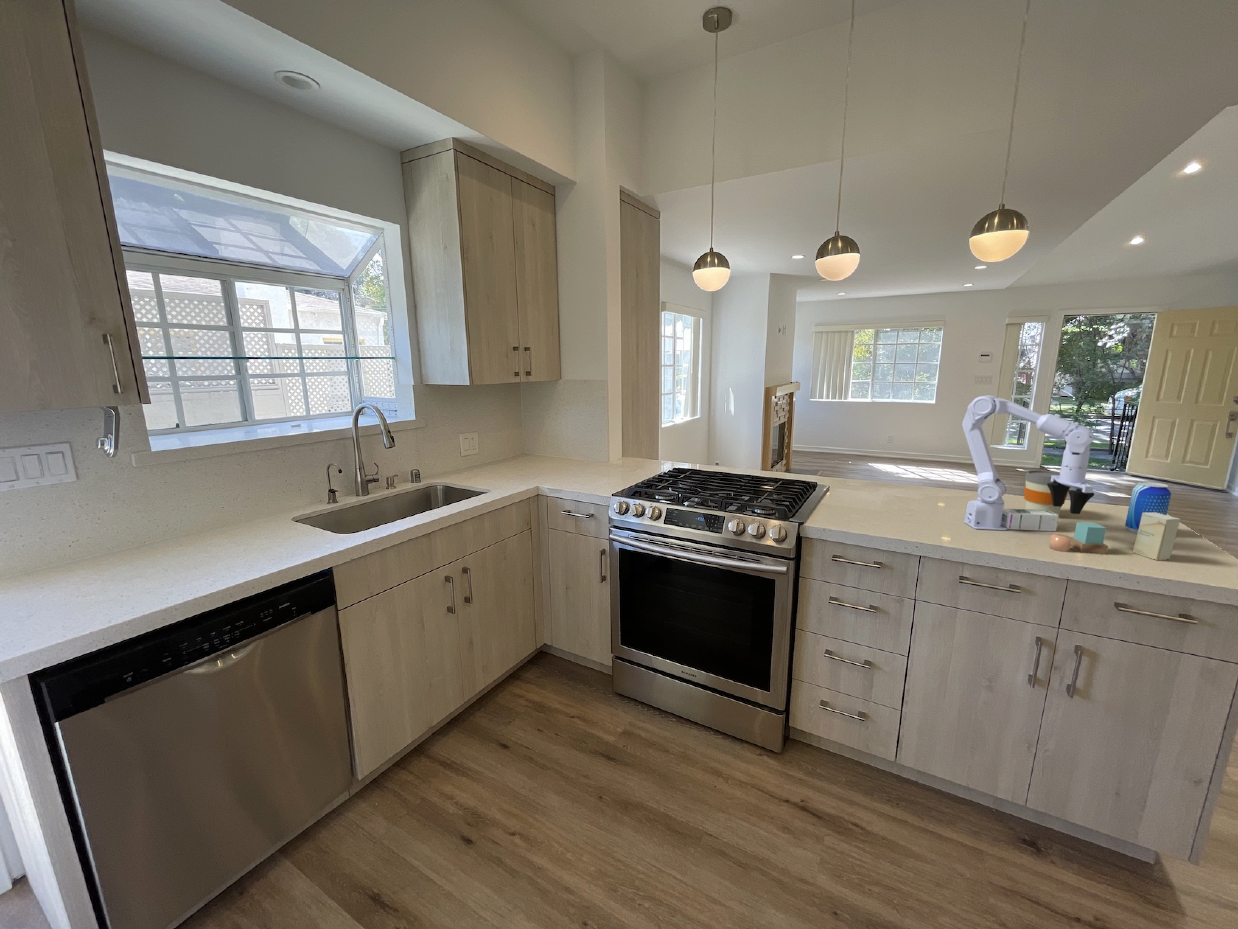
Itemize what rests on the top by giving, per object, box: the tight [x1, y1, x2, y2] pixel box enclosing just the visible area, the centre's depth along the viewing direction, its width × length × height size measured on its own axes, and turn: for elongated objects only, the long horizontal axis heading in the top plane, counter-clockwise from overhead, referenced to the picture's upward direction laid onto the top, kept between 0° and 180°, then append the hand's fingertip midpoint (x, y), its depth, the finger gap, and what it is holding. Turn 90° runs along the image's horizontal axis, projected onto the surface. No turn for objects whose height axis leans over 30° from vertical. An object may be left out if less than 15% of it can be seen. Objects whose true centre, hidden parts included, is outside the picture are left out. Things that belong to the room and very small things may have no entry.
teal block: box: [1073, 521, 1107, 544], centre depth 143 cm, size 4×4×5 cm
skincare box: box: [1132, 512, 1181, 561], centre depth 137 cm, size 6×4×12 cm
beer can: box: [1124, 481, 1172, 534], centre depth 157 cm, size 8×8×16 cm
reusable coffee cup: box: [1023, 469, 1069, 515], centre depth 176 cm, size 13×13×15 cm
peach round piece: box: [1048, 533, 1072, 553], centre depth 144 cm, size 4×4×4 cm
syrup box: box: [1001, 508, 1060, 532], centre depth 163 cm, size 6×6×14 cm
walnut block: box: [1070, 536, 1109, 556], centre depth 143 cm, size 6×6×3 cm
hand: (1065, 509), depth 150 cm, fingers open, 7 cm apart
